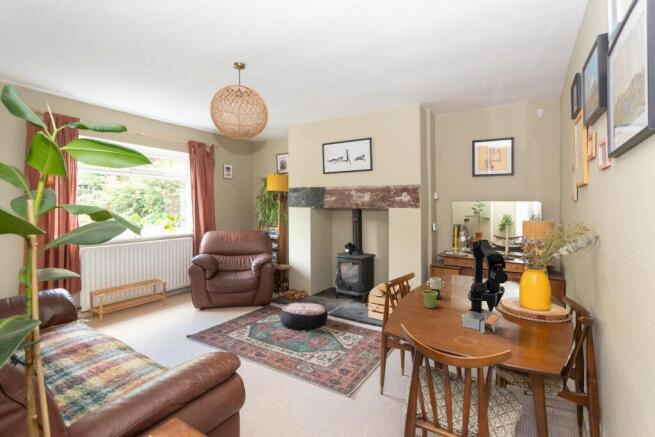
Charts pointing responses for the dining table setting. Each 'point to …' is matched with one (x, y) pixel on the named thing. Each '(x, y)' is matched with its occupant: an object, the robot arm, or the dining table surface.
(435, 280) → the character mug
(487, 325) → the lynch pin
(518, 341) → the dining table surface
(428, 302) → the plant pot
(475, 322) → the block
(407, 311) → the dining table surface
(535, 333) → the dining table surface
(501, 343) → the dining table surface
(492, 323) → the panel
